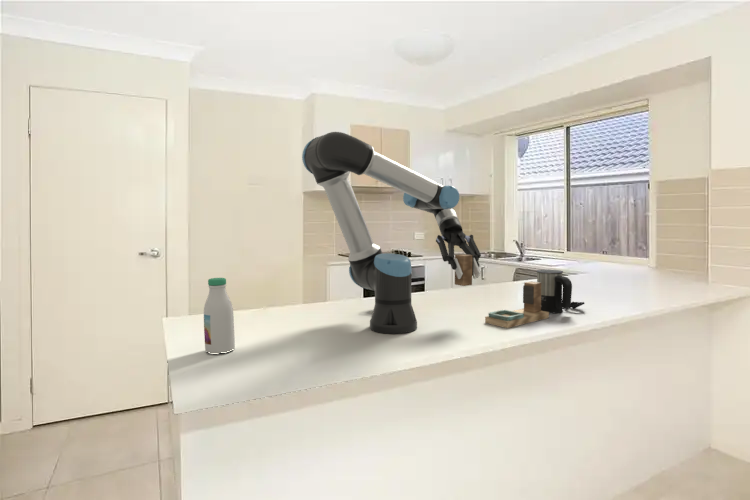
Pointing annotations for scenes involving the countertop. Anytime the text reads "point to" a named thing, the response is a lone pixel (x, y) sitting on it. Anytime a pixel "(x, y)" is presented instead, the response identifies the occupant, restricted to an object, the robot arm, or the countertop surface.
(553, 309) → the milk frother
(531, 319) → the wooden docking stand
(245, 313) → the countertop surface
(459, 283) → the brown wooden block
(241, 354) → the countertop surface
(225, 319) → the milk bottle
